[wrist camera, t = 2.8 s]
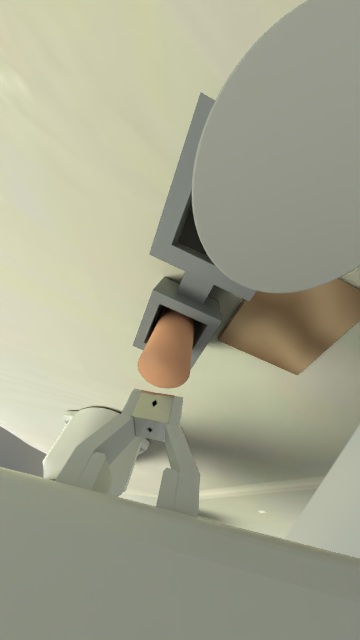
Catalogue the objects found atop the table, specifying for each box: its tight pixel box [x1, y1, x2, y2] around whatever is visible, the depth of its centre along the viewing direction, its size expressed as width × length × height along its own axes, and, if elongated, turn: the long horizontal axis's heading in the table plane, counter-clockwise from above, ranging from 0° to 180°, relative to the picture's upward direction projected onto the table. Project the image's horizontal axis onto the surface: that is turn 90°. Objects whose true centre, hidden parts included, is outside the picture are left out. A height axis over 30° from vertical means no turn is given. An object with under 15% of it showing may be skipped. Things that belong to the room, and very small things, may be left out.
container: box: [192, 0, 360, 293], centre depth 10 cm, size 5×5×15 cm
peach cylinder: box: [138, 308, 195, 388], centre depth 16 cm, size 4×4×8 cm
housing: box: [133, 93, 256, 370], centre depth 17 cm, size 20×10×5 cm, turn 157°
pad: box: [218, 278, 360, 375], centre depth 20 cm, size 12×12×1 cm
